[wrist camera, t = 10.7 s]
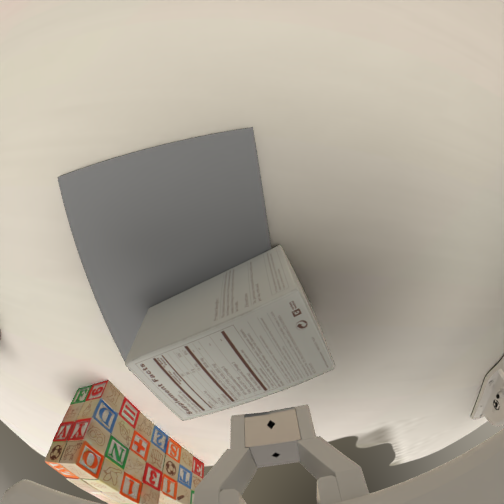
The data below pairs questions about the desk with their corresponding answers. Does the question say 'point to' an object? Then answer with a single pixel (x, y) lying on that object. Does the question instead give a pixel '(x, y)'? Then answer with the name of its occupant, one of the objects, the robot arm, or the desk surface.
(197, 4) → the desk surface
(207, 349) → the supplement box
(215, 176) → the mat
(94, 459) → the stack of blocks
